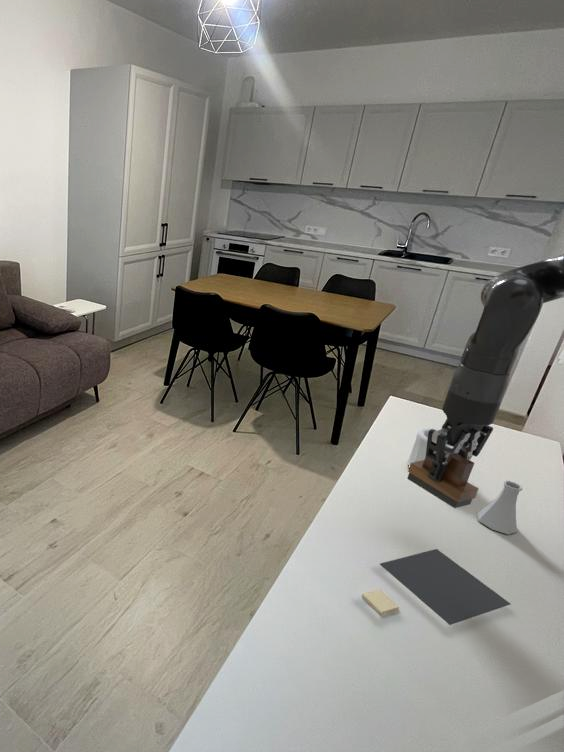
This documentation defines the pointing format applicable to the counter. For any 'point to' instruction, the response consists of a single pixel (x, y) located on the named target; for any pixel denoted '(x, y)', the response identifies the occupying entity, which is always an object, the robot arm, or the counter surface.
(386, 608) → the felt pad
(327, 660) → the counter surface
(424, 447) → the mug
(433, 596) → the slate tile
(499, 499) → the flask
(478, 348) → the robot arm
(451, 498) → the brush
